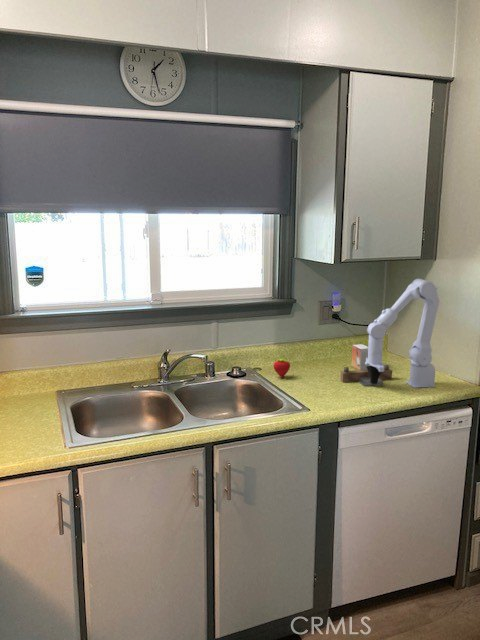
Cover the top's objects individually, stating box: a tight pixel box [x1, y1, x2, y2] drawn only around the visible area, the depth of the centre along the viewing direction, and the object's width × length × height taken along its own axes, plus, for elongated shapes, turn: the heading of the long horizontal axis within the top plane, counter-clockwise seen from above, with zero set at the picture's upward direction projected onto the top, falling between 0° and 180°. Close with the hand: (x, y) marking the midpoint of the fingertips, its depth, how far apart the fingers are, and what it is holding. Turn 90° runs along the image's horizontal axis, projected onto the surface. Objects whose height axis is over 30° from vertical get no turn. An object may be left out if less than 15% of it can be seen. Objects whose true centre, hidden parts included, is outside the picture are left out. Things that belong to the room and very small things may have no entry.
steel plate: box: [358, 376, 383, 387], centre depth 225 cm, size 8×6×2 cm
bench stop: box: [339, 364, 393, 383], centre depth 229 cm, size 22×3×6 cm, turn 98°
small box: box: [350, 343, 370, 370], centre depth 246 cm, size 8×6×10 cm
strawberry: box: [272, 355, 291, 378], centre depth 234 cm, size 6×8×10 cm
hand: (373, 383), depth 221 cm, fingers closed
